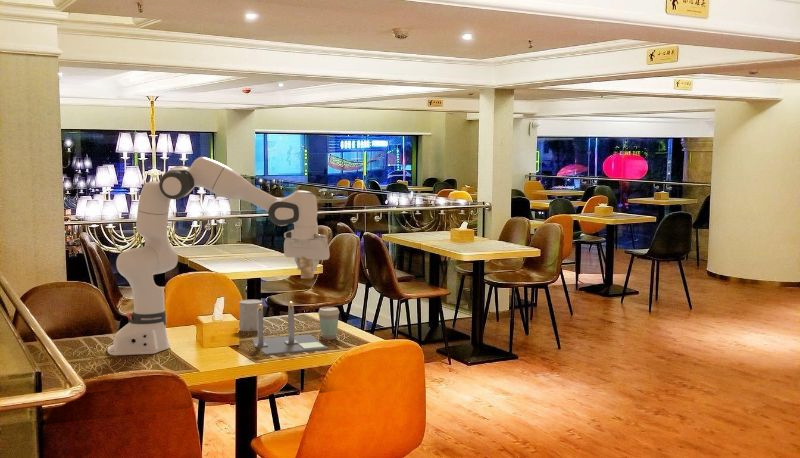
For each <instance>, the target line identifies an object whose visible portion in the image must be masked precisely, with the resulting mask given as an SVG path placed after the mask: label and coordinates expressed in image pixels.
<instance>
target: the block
mask: <svg viewBox="0 0 800 458" xmlns="http://www.w3.org/2000/svg"><path fill="white" fill-rule="evenodd" d="M300 262H301V270H300V279H313V278H314V277H315V271H311V266H313V264H314V262H313V259H306V258H305V257H300Z"/></svg>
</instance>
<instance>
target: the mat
mask: <svg viewBox="0 0 800 458" xmlns="http://www.w3.org/2000/svg"><path fill="white" fill-rule="evenodd" d="M294 340H296V341H297V342H298V344H294V345H287V344H286V343H284V341H289V337H288V335H287V336H285V335H284V336H274V337H263V341H264V343H266V344H267V345H268V347H261V348H259V349H260V350H261V351H262V352H263V355H264V356H265V357H267V356H276V355H277V356H278V355H289V354H288V353H290V354H300V352H301V353H310V352H320V351H329V347H328V346H326V344H324V343H323V342H321V341H320V340H318V339H317V338H316V337H314V336H313V335H312V334H298V335H297V334H296V335H294ZM251 341H252V342H253V344H256V343H258V338H253V339H251ZM310 342H320V343H321V344H322V345H323V346H325V348H314V349H303V348H302V347H301V346H300V345H299V343H310Z"/></svg>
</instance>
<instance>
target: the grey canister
mask: <svg viewBox="0 0 800 458" xmlns="http://www.w3.org/2000/svg"><path fill="white" fill-rule="evenodd" d="M259 304H262V305H263V300H262V299H255V298H254V299H253V298H252V299H251V298H250V299H242V300H239V304H238V305H239V332H254V331H255V332H258V323H257V310H259V309H258V308H257V306H258V305H259Z"/></svg>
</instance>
